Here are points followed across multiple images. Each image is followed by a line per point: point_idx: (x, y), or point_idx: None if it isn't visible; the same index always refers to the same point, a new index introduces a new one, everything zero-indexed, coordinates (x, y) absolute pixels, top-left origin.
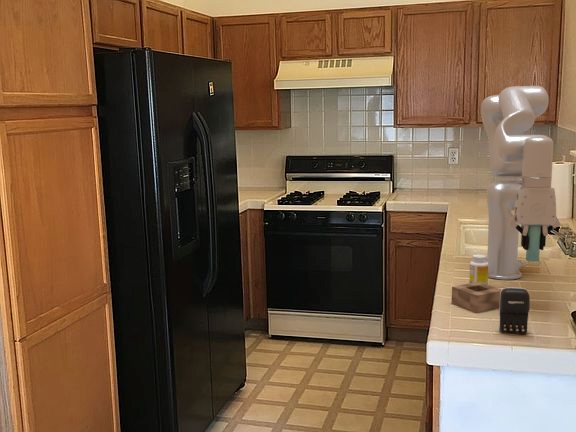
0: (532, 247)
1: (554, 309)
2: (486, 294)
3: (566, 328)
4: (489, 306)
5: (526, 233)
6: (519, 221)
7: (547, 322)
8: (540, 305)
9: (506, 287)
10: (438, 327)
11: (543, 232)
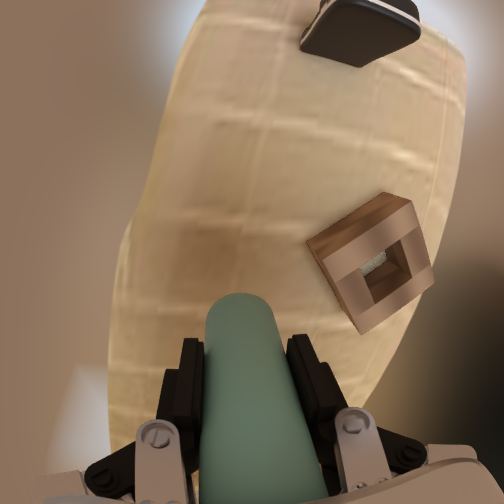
0: (264, 344)
1: (165, 232)
2: (382, 218)
3: (183, 71)
4: (353, 216)
5: (339, 427)
6: (484, 468)
7: (219, 113)
8: (196, 265)
9: (413, 25)
10: (459, 109)
11: (176, 447)
